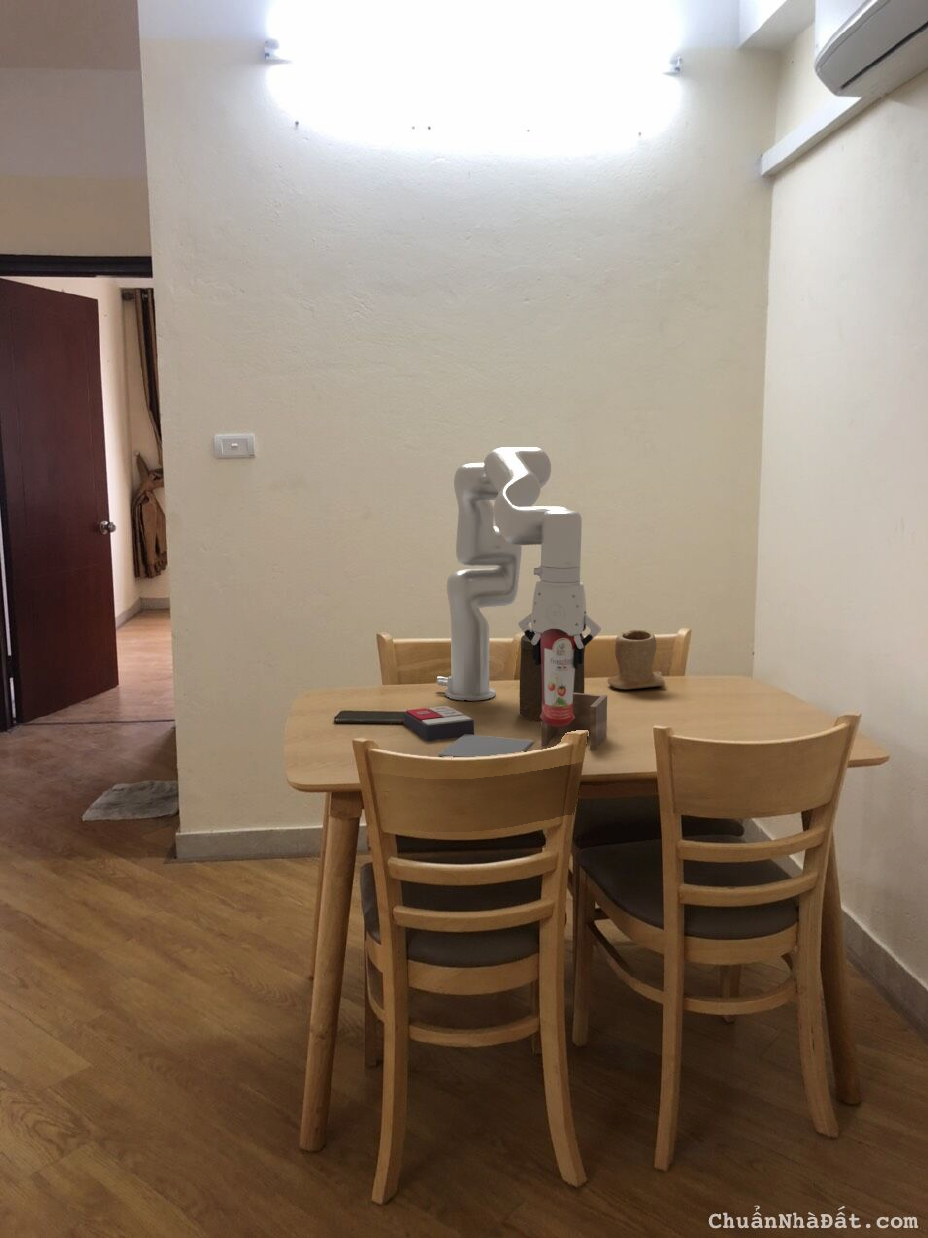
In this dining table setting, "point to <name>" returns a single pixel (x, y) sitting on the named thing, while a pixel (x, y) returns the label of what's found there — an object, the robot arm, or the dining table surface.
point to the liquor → (557, 677)
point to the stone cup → (636, 661)
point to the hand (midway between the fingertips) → (558, 664)
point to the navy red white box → (438, 723)
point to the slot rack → (582, 719)
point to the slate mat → (484, 746)
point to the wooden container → (537, 682)
